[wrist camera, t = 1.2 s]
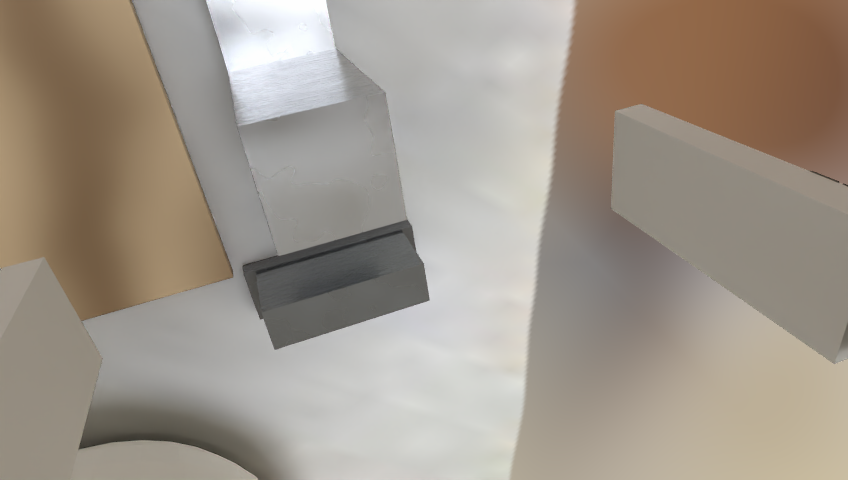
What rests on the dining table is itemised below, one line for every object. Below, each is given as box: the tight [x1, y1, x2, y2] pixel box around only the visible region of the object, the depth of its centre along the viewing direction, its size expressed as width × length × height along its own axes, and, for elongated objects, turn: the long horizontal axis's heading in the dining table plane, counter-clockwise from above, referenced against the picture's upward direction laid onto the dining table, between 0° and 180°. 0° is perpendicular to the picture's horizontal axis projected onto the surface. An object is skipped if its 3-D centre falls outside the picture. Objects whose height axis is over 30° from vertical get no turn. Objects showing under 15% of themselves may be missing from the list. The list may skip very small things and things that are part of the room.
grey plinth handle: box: [243, 220, 429, 349], centre depth 22 cm, size 8×19×4 cm, turn 8°
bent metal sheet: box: [206, 0, 407, 256], centre depth 20 cm, size 4×10×9 cm, turn 8°
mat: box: [0, 0, 233, 321], centre depth 21 cm, size 8×14×1 cm, turn 8°
